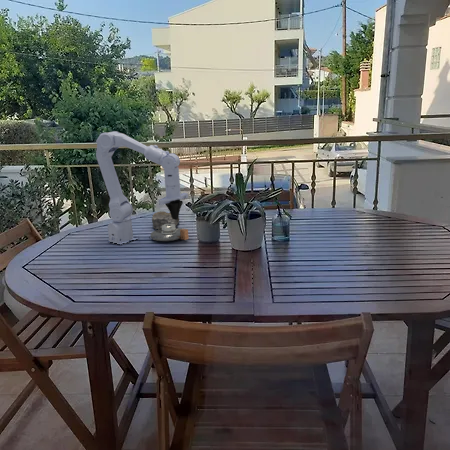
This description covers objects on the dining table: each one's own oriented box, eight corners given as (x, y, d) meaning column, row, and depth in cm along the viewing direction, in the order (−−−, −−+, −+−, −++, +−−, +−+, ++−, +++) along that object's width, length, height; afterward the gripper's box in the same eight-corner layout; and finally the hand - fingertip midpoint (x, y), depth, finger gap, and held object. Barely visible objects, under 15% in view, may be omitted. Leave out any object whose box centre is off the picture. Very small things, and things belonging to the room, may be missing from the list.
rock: (175, 231, 177) (181, 222, 192) (175, 217, 176) (180, 209, 190) (147, 230, 178) (155, 222, 192) (146, 216, 176) (154, 209, 191)
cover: (169, 235, 162) (168, 228, 161) (158, 233, 166) (157, 226, 165) (179, 231, 167) (178, 224, 166) (169, 229, 170) (168, 222, 170)
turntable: (173, 244, 155) (172, 234, 154) (143, 237, 165) (142, 228, 164) (199, 234, 166) (198, 225, 165) (169, 228, 177) (168, 219, 176)
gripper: (166, 189, 148) (169, 224, 152) (192, 183, 159) (194, 216, 163) (153, 188, 152) (156, 222, 156) (179, 181, 163) (182, 214, 167)
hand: (175, 219), depth 159 cm, fingers closed
